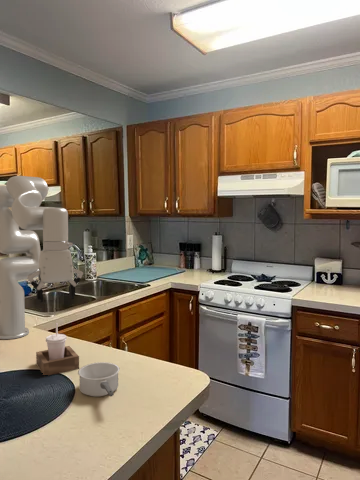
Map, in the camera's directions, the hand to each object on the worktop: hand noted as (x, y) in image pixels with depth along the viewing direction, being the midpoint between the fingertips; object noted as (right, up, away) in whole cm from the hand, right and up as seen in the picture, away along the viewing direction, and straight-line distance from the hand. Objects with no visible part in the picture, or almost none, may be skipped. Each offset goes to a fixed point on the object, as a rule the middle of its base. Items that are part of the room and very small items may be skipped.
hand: (56, 299), depth 116 cm
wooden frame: (0, -22, +1) cm, 22 cm away
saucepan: (+19, -24, -17) cm, 35 cm away
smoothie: (0, -22, +1) cm, 22 cm away
